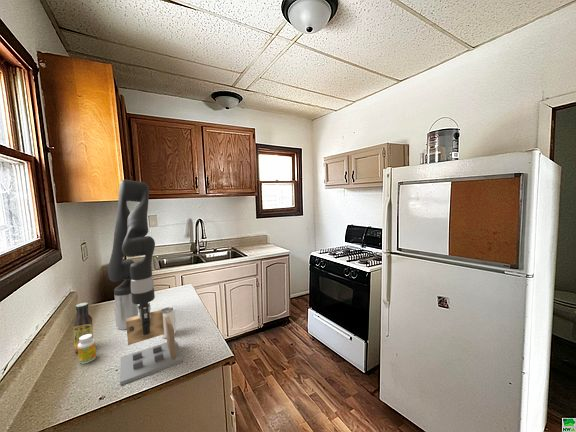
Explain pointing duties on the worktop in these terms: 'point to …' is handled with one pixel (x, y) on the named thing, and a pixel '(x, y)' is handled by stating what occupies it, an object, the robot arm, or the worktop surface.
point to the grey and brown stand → (151, 358)
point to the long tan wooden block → (136, 327)
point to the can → (171, 314)
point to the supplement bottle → (86, 349)
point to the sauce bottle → (82, 323)
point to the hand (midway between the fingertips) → (146, 331)
